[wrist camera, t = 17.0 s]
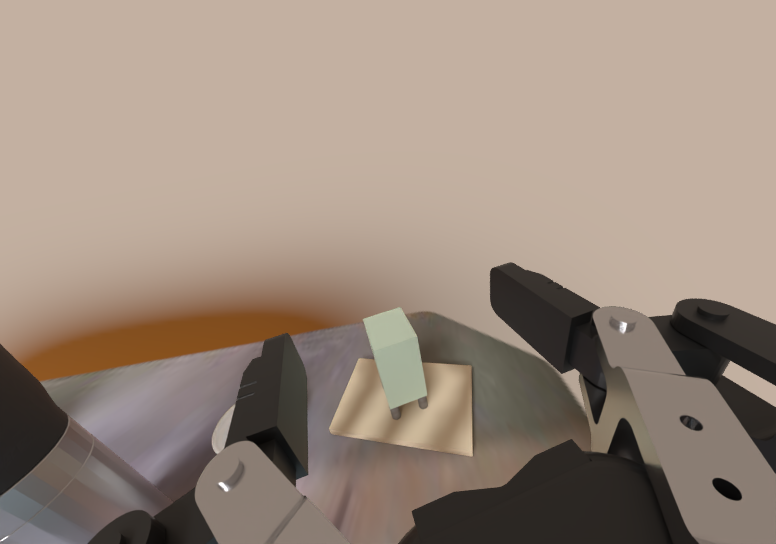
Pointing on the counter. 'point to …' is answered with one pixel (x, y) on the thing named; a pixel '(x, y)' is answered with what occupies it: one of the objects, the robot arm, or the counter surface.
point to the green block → (396, 356)
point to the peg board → (410, 410)
